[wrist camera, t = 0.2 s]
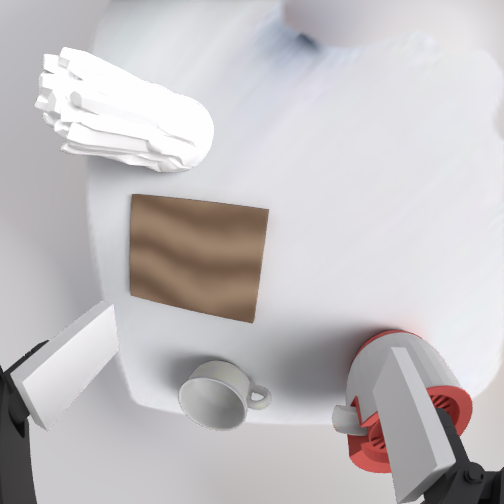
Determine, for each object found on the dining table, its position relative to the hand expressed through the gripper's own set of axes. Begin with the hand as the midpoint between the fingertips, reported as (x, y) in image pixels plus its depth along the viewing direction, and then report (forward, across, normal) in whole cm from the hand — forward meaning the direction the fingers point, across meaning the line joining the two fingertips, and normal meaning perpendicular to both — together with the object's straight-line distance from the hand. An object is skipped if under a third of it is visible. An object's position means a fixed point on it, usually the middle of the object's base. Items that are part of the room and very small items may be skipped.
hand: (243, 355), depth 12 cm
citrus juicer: (+26, +19, -18) cm, 37 cm away
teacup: (+26, -4, -26) cm, 37 cm away
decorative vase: (+28, -15, +12) cm, 34 cm away
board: (+27, -12, -5) cm, 30 cm away
